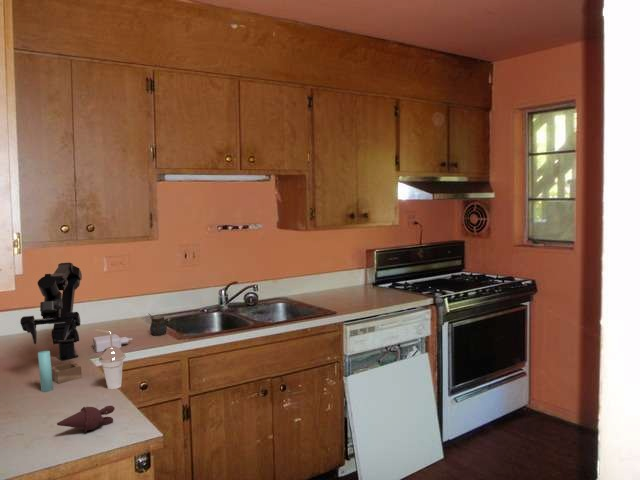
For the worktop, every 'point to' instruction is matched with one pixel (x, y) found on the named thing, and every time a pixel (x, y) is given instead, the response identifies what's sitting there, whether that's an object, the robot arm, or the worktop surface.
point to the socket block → (66, 372)
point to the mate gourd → (158, 325)
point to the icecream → (88, 418)
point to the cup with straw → (112, 364)
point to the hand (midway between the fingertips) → (49, 341)
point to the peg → (45, 371)
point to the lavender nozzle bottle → (108, 342)
